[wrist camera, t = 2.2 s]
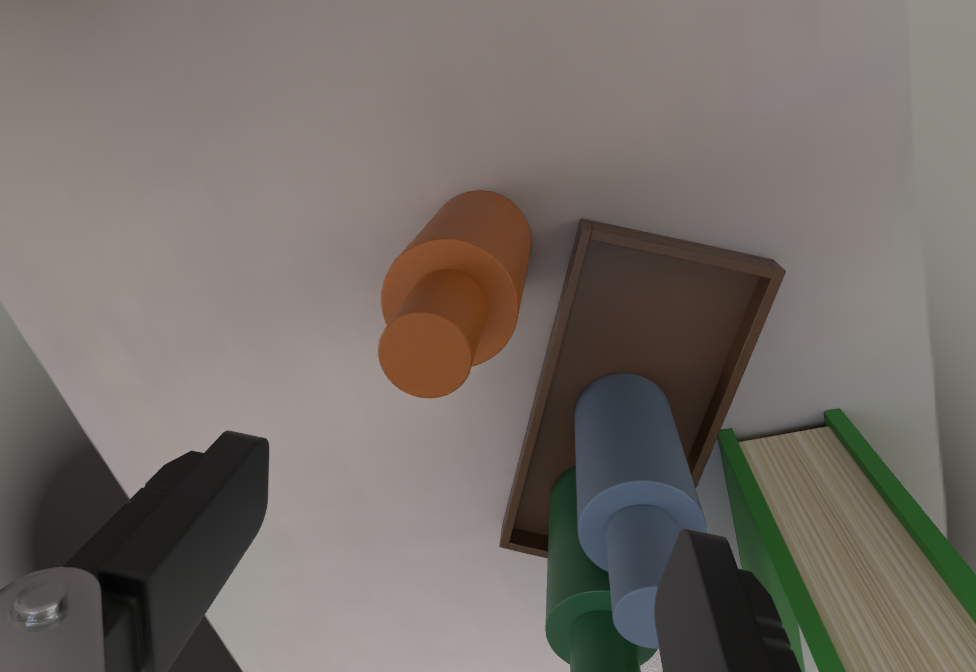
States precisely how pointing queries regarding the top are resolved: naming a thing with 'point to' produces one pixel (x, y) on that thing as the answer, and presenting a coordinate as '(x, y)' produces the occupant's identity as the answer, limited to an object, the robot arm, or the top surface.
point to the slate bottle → (631, 493)
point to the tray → (639, 350)
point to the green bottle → (581, 596)
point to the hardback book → (848, 554)
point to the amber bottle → (454, 294)
